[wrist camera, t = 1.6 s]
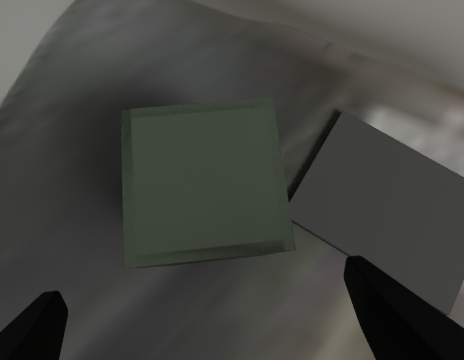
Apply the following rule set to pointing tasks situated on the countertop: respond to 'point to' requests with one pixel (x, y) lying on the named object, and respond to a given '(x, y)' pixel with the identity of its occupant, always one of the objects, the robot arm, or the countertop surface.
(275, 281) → the countertop surface
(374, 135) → the mat
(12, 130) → the countertop surface
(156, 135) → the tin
